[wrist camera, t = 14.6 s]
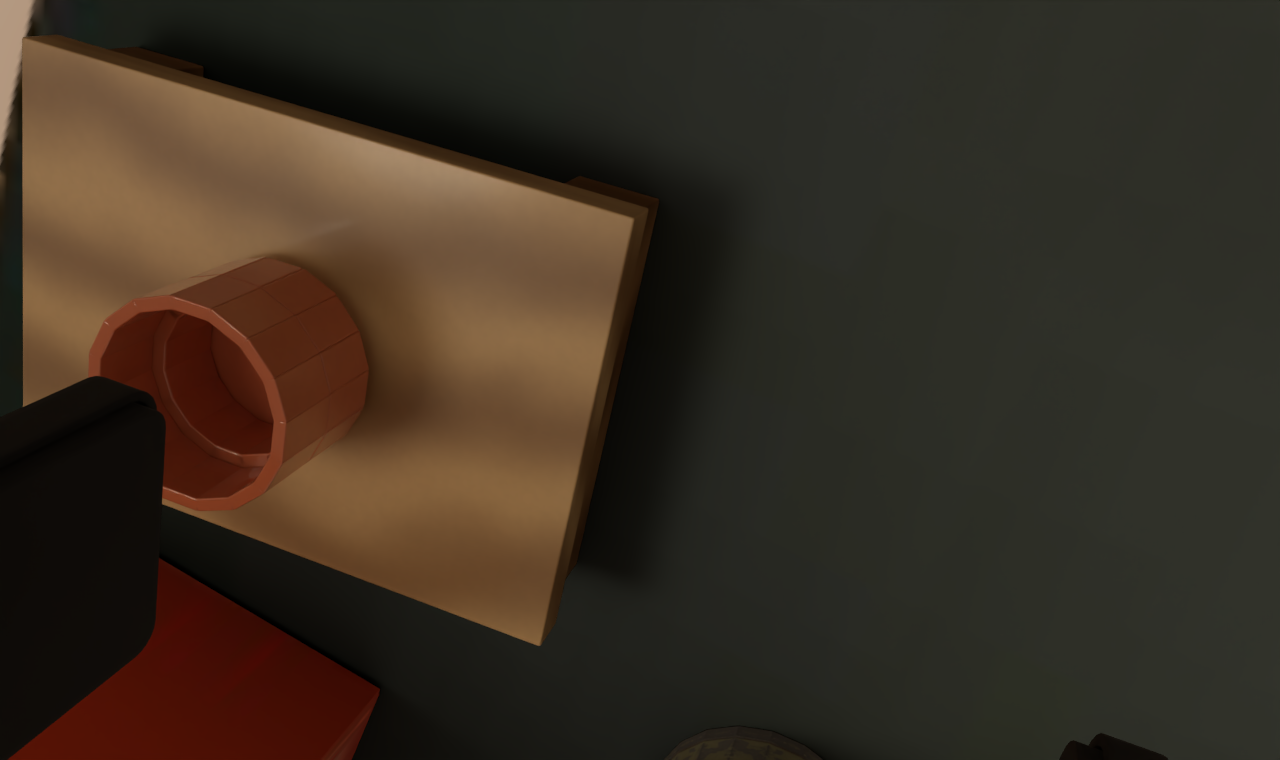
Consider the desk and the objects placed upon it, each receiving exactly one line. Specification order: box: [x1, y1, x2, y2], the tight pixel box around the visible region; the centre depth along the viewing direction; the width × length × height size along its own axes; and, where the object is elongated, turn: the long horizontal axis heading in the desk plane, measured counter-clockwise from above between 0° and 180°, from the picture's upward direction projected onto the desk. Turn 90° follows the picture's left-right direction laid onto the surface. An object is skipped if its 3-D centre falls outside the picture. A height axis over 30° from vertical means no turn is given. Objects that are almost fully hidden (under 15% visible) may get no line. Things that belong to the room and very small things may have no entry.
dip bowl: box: [88, 257, 369, 511], centre depth 37 cm, size 7×7×6 cm
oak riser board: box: [22, 35, 659, 646], centre depth 41 cm, size 16×22×5 cm
